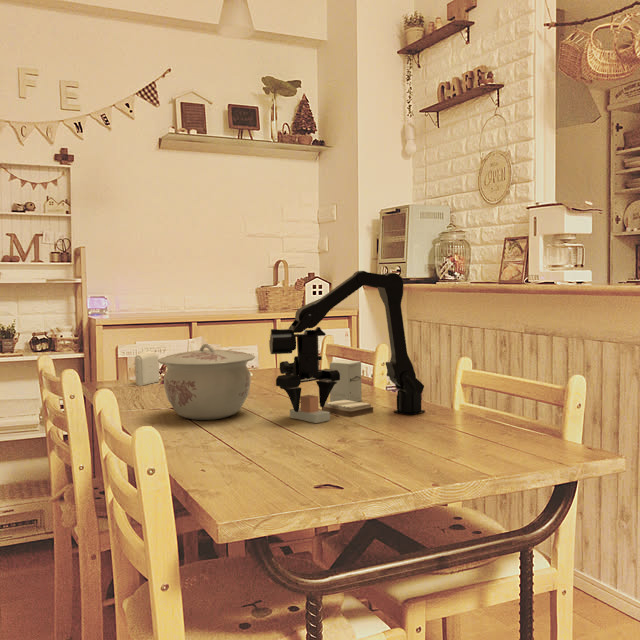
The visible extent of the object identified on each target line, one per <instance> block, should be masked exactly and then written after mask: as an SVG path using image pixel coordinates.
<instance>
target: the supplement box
mask: <svg viewBox="0 0 640 640" xmlns="http://www.w3.org/2000/svg"><path fill="white" fill-rule="evenodd" d="M329 369H333V370H338V372H339V373H340V380H338V381H335V382H337V384H335V385H334V387H333V388H332V390H331V392H330V394H329V402H334V401H339V400H350V401H356V402H362V361H360V360H347V359H346V360H344V359H343V360H337V361H331V362H329Z"/></svg>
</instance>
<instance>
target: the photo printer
mask: <svg viewBox="0 0 640 640" xmlns="http://www.w3.org/2000/svg"><path fill="white" fill-rule="evenodd" d="M158 360H159V354H158V353H157V352H156V351H149V350H145V351H141V352H139V353H137V354H136V355H135V356H134V371H135V384H136V386H139V387H140V386H142V387H143V386H146V385H150V384H155V383H159V382H160V363H159V362H158Z"/></svg>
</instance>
